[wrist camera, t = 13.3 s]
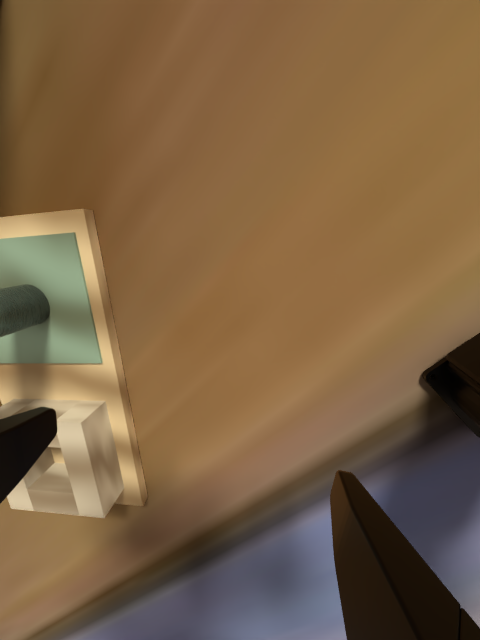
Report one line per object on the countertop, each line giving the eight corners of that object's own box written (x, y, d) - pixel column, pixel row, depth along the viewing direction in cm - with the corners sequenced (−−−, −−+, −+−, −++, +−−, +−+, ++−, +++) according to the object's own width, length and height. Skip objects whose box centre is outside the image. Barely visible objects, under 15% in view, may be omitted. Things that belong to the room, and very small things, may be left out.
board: (147, 497, 27) (125, 538, 23) (40, 487, 29) (3, 524, 25) (92, 210, 20) (48, 203, 17) (-43, 223, 22) (-110, 220, 19)
